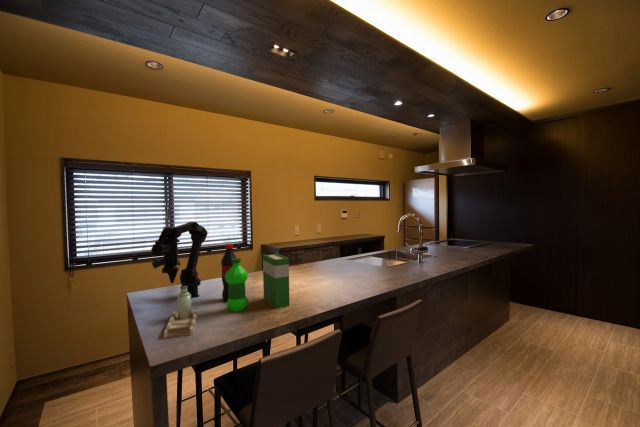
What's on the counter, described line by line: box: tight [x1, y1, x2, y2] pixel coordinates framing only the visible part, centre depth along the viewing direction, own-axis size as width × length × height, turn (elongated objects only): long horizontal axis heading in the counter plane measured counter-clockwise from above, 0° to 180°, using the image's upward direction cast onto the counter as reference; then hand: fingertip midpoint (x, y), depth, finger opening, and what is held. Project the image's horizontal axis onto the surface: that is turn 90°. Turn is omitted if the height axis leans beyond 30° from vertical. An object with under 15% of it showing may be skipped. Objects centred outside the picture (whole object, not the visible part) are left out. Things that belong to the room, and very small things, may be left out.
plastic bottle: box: [225, 257, 249, 313], centre depth 141 cm, size 10×10×25 cm
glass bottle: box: [176, 285, 193, 320], centre depth 132 cm, size 6×6×14 cm
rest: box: [163, 308, 199, 339], centre depth 125 cm, size 24×10×4 cm, turn 19°
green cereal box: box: [262, 252, 290, 309], centre depth 152 cm, size 18×7×24 cm, turn 30°
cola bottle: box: [220, 243, 237, 302], centre depth 156 cm, size 8×8×30 cm
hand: (172, 283), depth 147 cm, fingers closed
